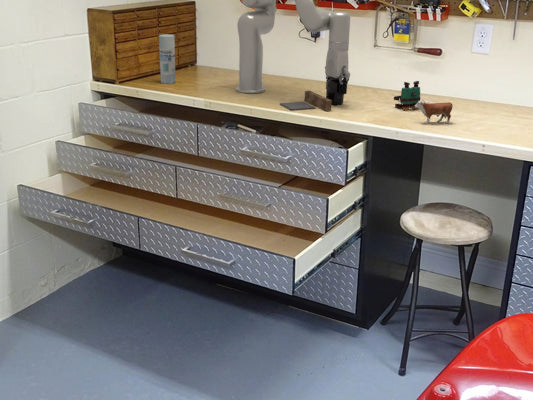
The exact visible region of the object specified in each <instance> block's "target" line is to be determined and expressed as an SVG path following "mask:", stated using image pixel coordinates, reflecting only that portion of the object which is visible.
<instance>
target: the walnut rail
mask: <svg viewBox="0 0 533 400" xmlns="http://www.w3.org/2000/svg"><path fill="white" fill-rule="evenodd" d="M303 102H306V103H308V104H310V105H312V106H314V107H315V108H318V109H320V110H322V111H325V112H332V106H333V105H332V100H330V99H328V98H326V96H322V95H321V94H318V93H316V92H314V91H311V90H304V100H303Z"/></svg>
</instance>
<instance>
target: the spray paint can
mask: <svg viewBox="0 0 533 400" xmlns="http://www.w3.org/2000/svg"><path fill="white" fill-rule="evenodd" d="M175 40H176V39H175V34H169V33H168V34H167V33H166V34H165V33H164V34H158V42H159V43H158V44H159V47H158V48H159V65H160V67H159V69H160V72H159V73H160V83H161V84H162V85H172V84H175V83H176V51H175V49H176V48H175V43H176V41H175Z"/></svg>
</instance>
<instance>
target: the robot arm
mask: <svg viewBox="0 0 533 400" xmlns="http://www.w3.org/2000/svg"><path fill="white" fill-rule="evenodd" d="M241 1H242V3H243V6H245V7H247V8H249V9H254V10H253V11H247V12H244V13H243V14H241V15H240V16H239V18H238V19H237V20H238V21H237V24H236V25H237V33H238V41H239V44H238V45H239V50H238V51H239V61H238V62H239V63H238V65H239V66H238V67H239V68H238V70H239V73H238V76H239V77H238V85H237V86H235V88H234V89H235V91H236V92H238V93H241V94H260V93H264V92H266V89H267V88H266V87H265V86H263V64H264V63H263V62H264V61H263V60H264V52H263V51H264V47H263V46H264V45H263V40H262V39H261V38H262V37H261V36H263V35H266V34H269V33H270V32H271V31H272V30H273V28H274V27H275V20H276V18H275V17H276V2H277V0H241ZM294 1H295V3H294V4H295V7H296V8H295V9H296V12H297V14H298V16H299V19H300V20H301V21H300V22H301V23H302V25H303V26H304V27H305V29H306V30H307V31H308V32H310V33H319V32H326V31H328V45H327V46H328V47H327V48H328V49H327V53H326V59H325V66H324V70H325V71H324V72H325V80H326V81H325V90H327V81H328V80H329V79H331V78H330V77H333V78H339V81H340V84H339V95H342V94H344V95H347V94H348V92H347V91H348V84H349V80H350V77H351V72H350V71H349V47H350V46H349V43H350V31H351V30H350V29H351V27H350V26H351V14H350V13H349V12H346V11H333V10H327V9H322V10H321V9H320V10H318V8H317V7H316V5H315V2H314V0H294Z"/></svg>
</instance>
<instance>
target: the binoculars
mask: <svg viewBox="0 0 533 400" xmlns="http://www.w3.org/2000/svg"><path fill="white" fill-rule="evenodd" d="M419 84H420V81H419V80H416V81H413V86H411V87H410V85H411V83H410V82H407V81H404V82H403V85H404V87H402V88H401V91H400V95H395V96H393V100H394V101H397V102H398V103H395V104H394V107H395V108H396V107H397V108H401V110H403V111H410V108H411V109H412V110H417V111H418V110H420V109H419V108H416V107H415V105H416V104H417V103H418V102H419V101H420V100H421V87H420V86H419Z"/></svg>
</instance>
